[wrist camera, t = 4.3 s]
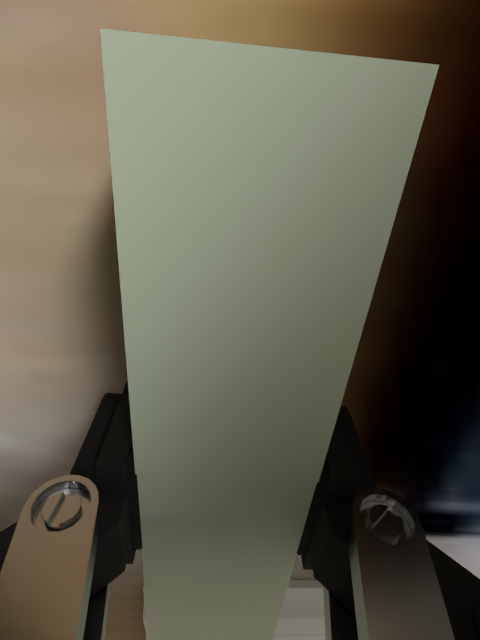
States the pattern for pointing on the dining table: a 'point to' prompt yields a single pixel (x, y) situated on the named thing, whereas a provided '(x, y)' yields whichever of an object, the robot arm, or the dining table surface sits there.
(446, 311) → the dining table surface
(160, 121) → the pale green long block
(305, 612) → the baseboard molding
